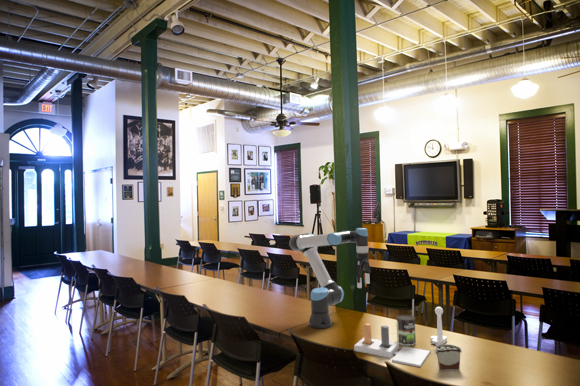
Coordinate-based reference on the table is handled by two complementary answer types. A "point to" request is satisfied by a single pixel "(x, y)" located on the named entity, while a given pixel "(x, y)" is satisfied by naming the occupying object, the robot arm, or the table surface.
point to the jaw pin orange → (367, 334)
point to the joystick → (439, 329)
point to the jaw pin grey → (385, 336)
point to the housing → (376, 348)
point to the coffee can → (406, 330)
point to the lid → (411, 356)
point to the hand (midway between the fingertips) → (363, 285)
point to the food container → (448, 357)
